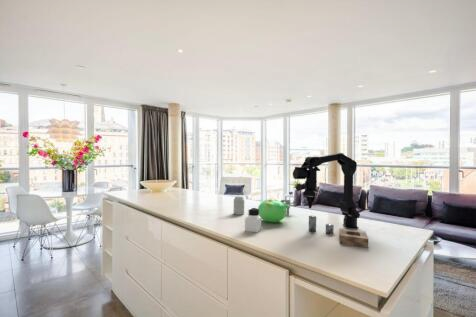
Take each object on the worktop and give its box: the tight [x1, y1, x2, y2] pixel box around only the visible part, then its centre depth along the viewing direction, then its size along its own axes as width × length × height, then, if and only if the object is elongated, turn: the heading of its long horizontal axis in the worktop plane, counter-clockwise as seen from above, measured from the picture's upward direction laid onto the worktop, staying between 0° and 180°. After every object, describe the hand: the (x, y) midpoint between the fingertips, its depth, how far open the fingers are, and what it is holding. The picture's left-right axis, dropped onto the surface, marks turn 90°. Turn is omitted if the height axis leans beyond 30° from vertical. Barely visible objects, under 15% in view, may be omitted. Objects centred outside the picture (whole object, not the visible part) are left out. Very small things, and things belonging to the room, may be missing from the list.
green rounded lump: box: [257, 197, 291, 223], centre depth 151 cm, size 18×17×15 cm
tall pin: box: [308, 215, 317, 233], centre depth 134 cm, size 4×4×8 cm
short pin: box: [325, 223, 335, 235], centre depth 130 cm, size 4×4×4 cm
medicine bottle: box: [244, 207, 262, 233], centre depth 133 cm, size 7×7×12 cm
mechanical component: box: [280, 199, 296, 215], centre depth 172 cm, size 3×10×10 cm, turn 78°
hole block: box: [338, 228, 369, 248], centre depth 118 cm, size 12×12×4 cm
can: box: [233, 196, 245, 216], centre depth 170 cm, size 8×8×12 cm
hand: (310, 206), depth 135 cm, fingers open, 9 cm apart
